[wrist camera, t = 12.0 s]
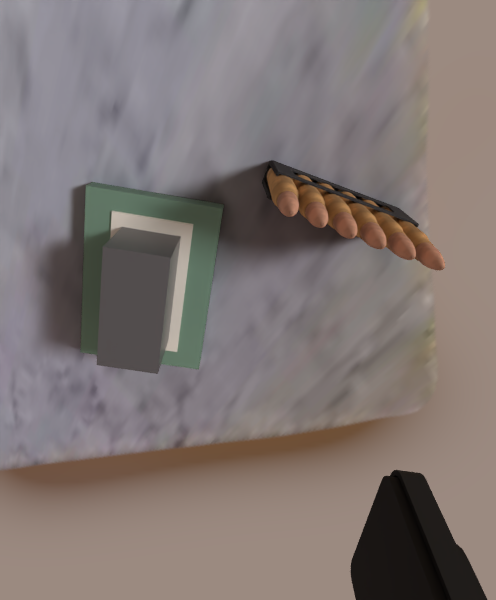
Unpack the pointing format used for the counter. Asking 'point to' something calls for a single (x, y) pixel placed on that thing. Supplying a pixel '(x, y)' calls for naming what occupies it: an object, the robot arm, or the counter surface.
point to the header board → (190, 269)
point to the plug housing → (136, 299)
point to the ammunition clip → (349, 213)
